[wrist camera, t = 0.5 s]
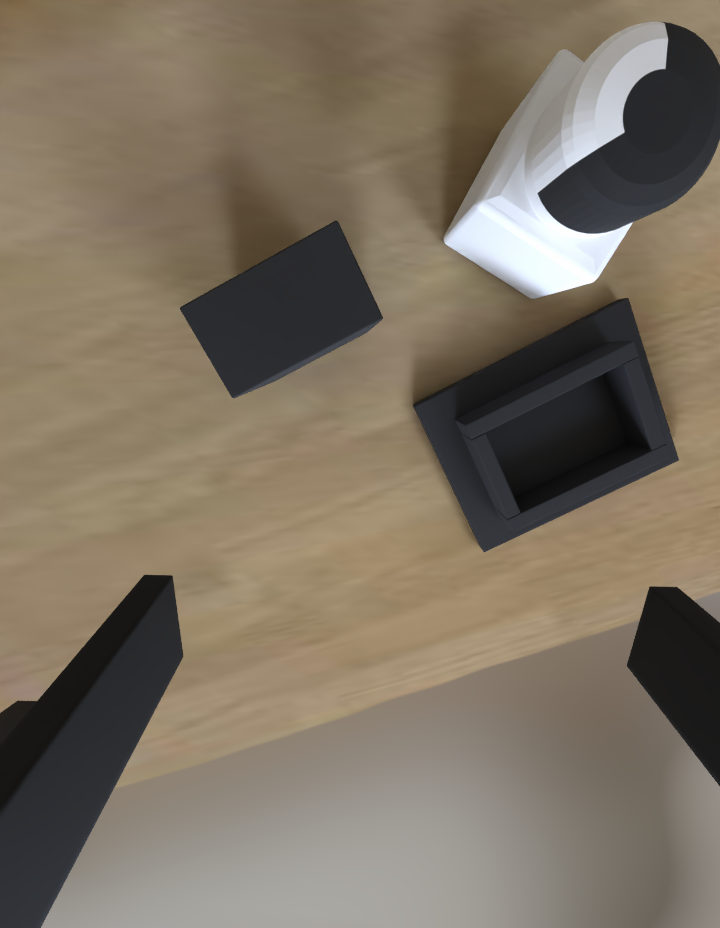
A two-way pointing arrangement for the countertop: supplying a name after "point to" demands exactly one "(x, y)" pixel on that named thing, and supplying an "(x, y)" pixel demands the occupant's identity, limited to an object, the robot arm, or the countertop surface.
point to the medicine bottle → (591, 158)
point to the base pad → (550, 426)
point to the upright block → (284, 311)
